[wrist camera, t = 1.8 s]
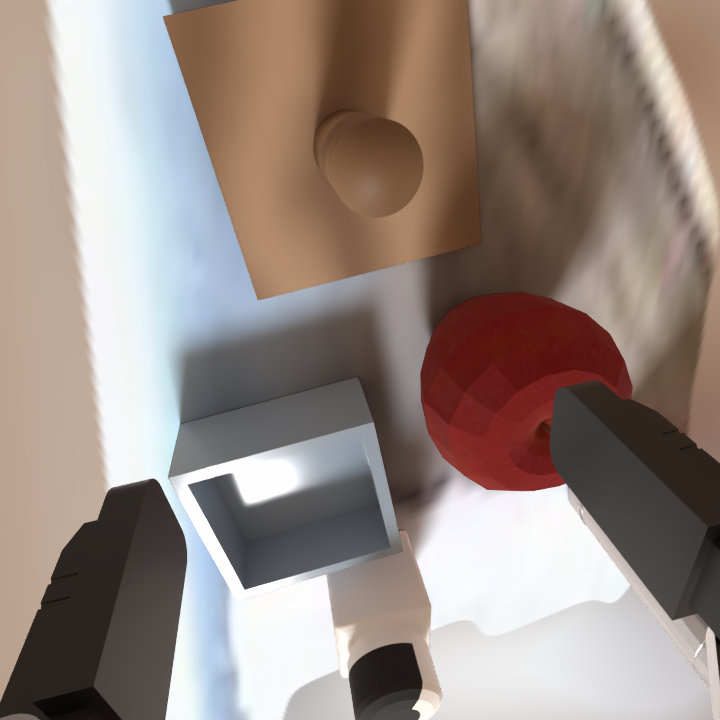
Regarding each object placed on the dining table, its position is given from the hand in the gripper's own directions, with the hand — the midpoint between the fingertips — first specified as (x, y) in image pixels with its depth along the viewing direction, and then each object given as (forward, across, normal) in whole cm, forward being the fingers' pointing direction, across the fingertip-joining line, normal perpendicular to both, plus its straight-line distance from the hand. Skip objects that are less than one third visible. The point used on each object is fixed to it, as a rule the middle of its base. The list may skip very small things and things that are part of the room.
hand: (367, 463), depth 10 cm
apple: (+20, -10, +10) cm, 24 cm away
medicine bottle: (+19, 0, +30) cm, 36 cm away
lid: (+19, -3, -3) cm, 19 cm away
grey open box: (+19, +4, +17) cm, 26 cm away
